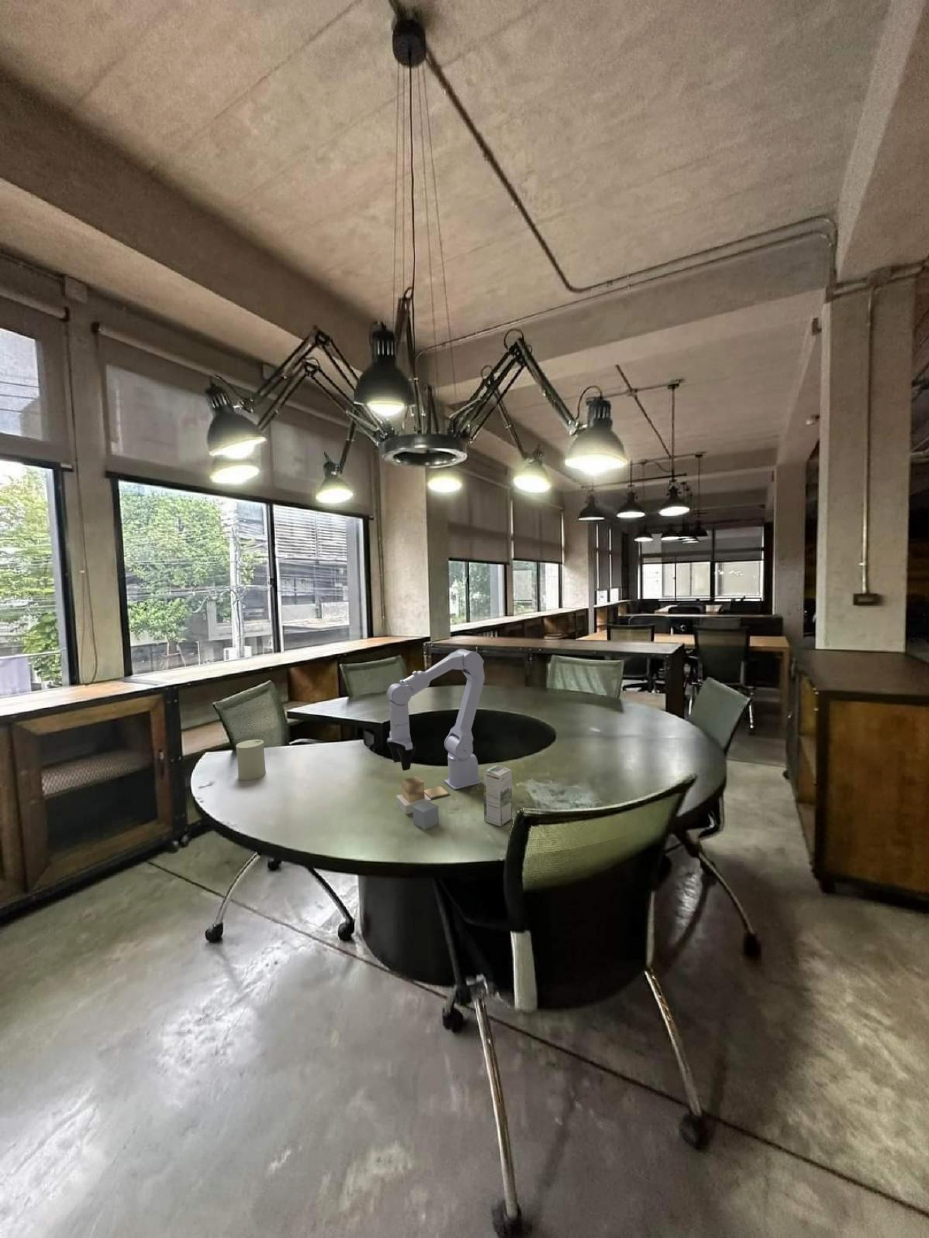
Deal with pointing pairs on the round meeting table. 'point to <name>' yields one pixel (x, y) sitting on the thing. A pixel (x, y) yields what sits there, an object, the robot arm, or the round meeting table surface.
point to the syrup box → (497, 795)
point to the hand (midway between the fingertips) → (401, 765)
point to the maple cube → (413, 789)
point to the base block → (409, 803)
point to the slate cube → (425, 815)
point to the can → (250, 759)
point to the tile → (436, 793)
